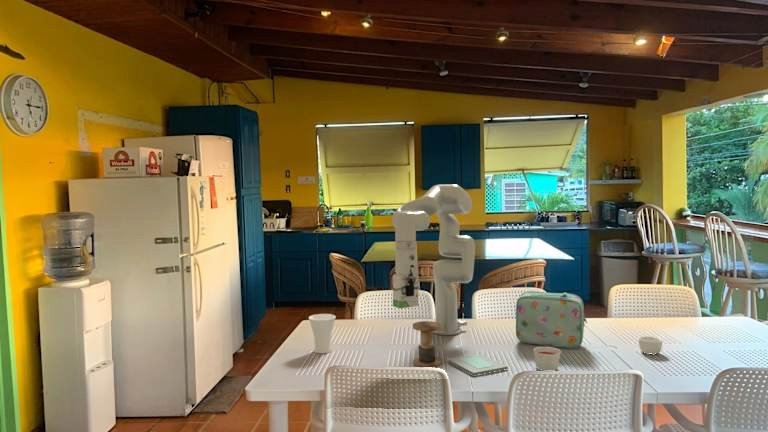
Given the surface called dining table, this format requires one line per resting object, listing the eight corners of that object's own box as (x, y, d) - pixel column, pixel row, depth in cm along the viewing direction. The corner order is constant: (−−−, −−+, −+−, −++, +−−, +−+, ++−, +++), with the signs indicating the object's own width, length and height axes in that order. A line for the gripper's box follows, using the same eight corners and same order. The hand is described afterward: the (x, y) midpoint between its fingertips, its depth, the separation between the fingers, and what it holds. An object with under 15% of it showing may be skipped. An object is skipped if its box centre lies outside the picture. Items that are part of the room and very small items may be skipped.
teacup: (665, 356, 194) (665, 342, 194) (642, 356, 196) (643, 341, 195) (655, 348, 204) (655, 334, 204) (634, 348, 205) (634, 334, 205)
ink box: (400, 308, 191) (399, 276, 191) (392, 306, 195) (392, 274, 195) (419, 305, 196) (419, 274, 196) (411, 303, 200) (411, 272, 200)
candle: (555, 363, 189) (555, 346, 188) (564, 372, 180) (564, 354, 179) (530, 364, 188) (530, 346, 188) (538, 373, 179) (538, 354, 179)
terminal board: (480, 356, 198) (480, 353, 198) (507, 369, 183) (507, 366, 183) (448, 362, 192) (448, 358, 192) (473, 376, 177) (473, 372, 177)
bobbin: (432, 357, 198) (431, 319, 197) (446, 365, 189) (446, 326, 188) (408, 361, 194) (407, 323, 193) (421, 369, 185) (421, 329, 184)
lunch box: (587, 344, 211) (587, 291, 210) (585, 351, 202) (585, 296, 201) (519, 337, 222) (519, 286, 221) (514, 344, 213) (514, 291, 212)
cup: (314, 357, 200) (314, 321, 199) (305, 349, 209) (304, 315, 209) (340, 352, 205) (339, 318, 204) (330, 345, 214) (329, 312, 214)
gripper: (426, 247, 189) (426, 297, 189) (404, 243, 204) (404, 290, 205) (407, 248, 185) (407, 299, 186) (386, 244, 201) (386, 291, 202)
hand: (405, 294), depth 196 cm, fingers closed on ink box, 5 cm apart
